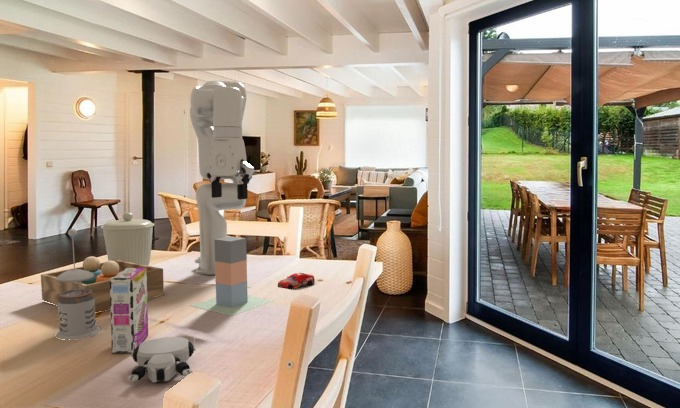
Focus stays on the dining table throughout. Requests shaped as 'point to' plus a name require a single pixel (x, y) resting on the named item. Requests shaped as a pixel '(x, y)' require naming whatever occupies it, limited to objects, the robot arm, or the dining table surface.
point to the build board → (230, 311)
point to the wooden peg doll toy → (101, 275)
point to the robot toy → (162, 358)
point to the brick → (231, 272)
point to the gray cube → (230, 249)
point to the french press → (76, 305)
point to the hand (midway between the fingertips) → (229, 198)
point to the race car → (296, 281)
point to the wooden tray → (100, 285)
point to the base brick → (231, 294)
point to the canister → (128, 239)
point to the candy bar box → (128, 309)
